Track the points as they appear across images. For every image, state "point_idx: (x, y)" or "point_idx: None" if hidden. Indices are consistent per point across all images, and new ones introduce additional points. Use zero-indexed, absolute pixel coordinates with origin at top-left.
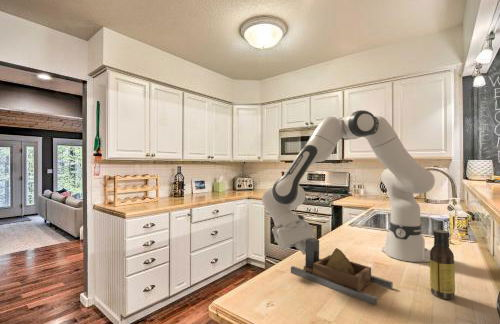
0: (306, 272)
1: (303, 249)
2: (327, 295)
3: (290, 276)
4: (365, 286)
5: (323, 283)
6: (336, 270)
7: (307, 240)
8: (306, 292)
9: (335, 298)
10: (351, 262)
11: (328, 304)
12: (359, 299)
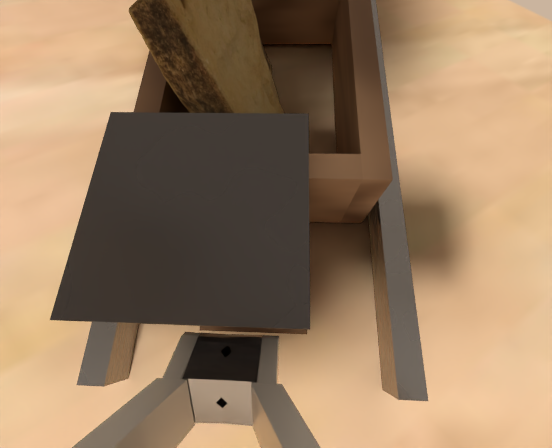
0: (403, 244)
1: (276, 382)
2: (447, 99)
3: (460, 348)
4: None
5: None
6: (361, 32)
7: (306, 273)
8: (516, 170)
9: (438, 71)
10: None
11: (501, 70)
12: None
